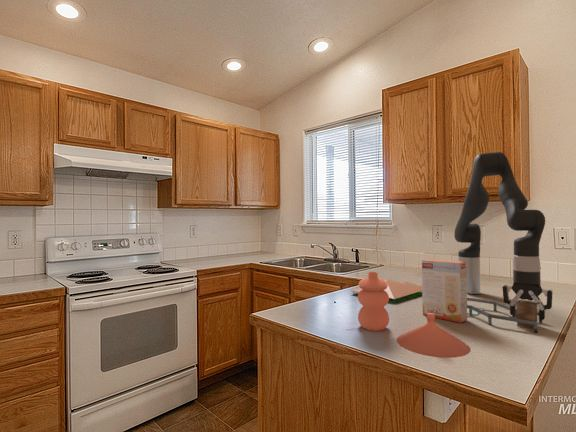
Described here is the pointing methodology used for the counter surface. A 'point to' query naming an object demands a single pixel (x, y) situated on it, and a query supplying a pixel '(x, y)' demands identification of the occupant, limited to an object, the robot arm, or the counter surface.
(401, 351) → the counter surface
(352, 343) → the counter surface
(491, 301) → the wire channel
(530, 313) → the walnut block
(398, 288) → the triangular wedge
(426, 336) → the ceramic vessels
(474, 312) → the mat
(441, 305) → the cracker box
